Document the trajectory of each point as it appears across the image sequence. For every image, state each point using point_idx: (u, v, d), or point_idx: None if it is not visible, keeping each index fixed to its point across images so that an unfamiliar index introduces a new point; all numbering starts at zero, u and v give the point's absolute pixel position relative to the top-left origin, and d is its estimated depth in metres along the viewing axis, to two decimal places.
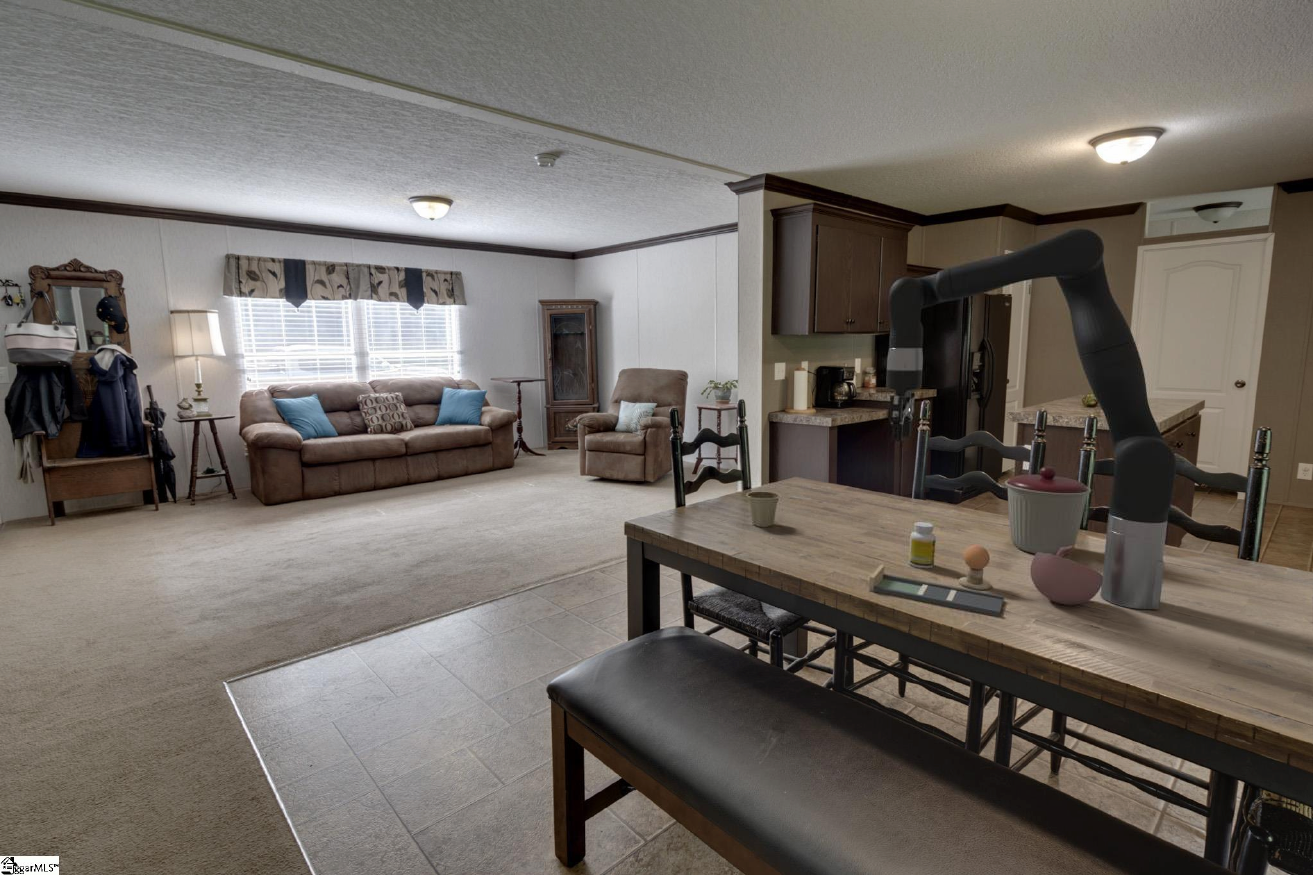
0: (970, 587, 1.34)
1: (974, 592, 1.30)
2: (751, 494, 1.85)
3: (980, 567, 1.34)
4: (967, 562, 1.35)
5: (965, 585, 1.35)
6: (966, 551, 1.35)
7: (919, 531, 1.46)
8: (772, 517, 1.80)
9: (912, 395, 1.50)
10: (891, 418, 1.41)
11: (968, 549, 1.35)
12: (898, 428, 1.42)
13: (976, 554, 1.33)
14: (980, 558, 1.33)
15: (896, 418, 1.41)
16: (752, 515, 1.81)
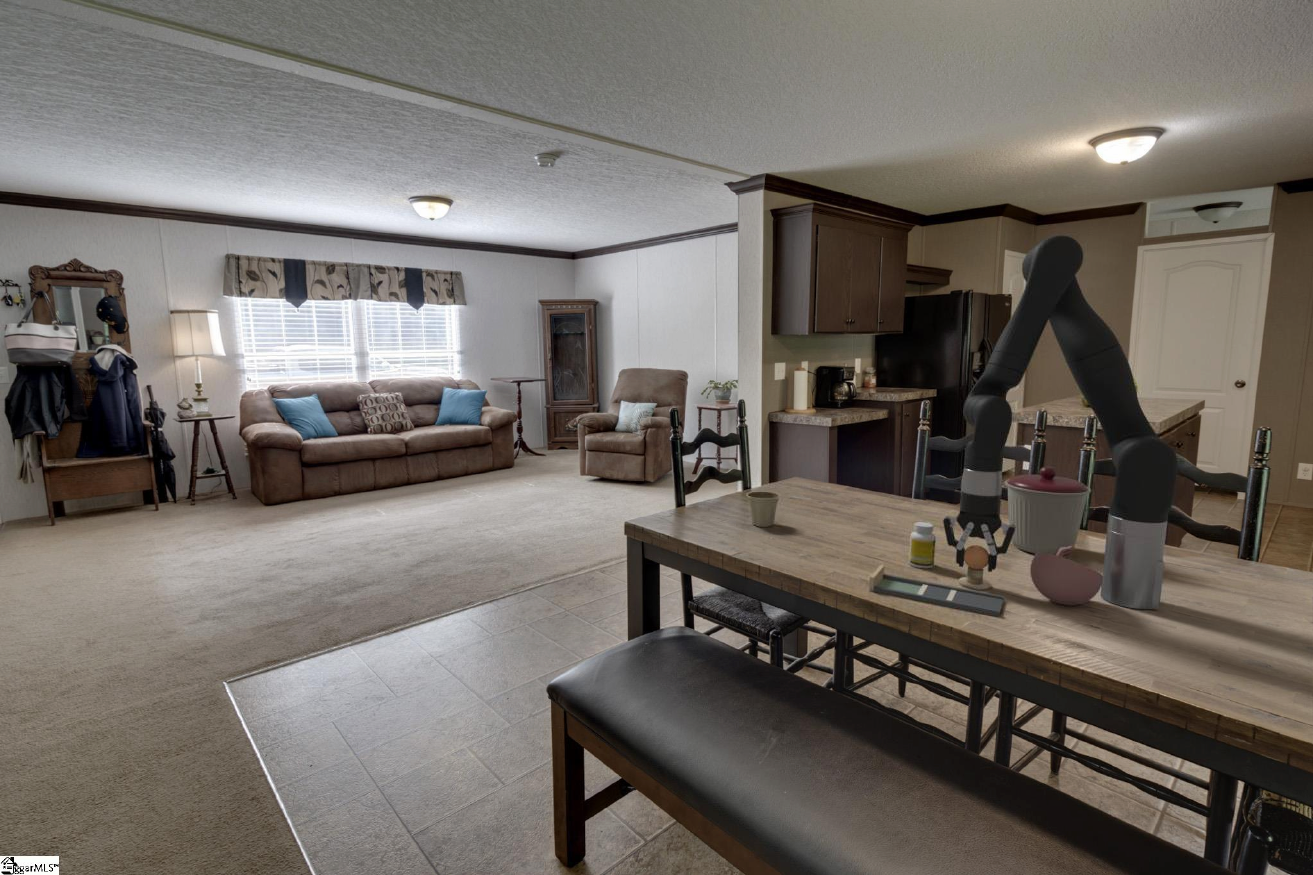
0: (970, 587, 1.34)
1: (974, 592, 1.30)
2: (751, 494, 1.85)
3: (980, 567, 1.34)
4: (967, 562, 1.35)
5: (965, 585, 1.35)
6: (966, 551, 1.35)
7: (919, 531, 1.46)
8: (772, 517, 1.80)
9: None
10: None
11: (968, 549, 1.35)
12: None
13: (976, 554, 1.33)
14: (980, 558, 1.33)
15: None
16: (752, 515, 1.81)
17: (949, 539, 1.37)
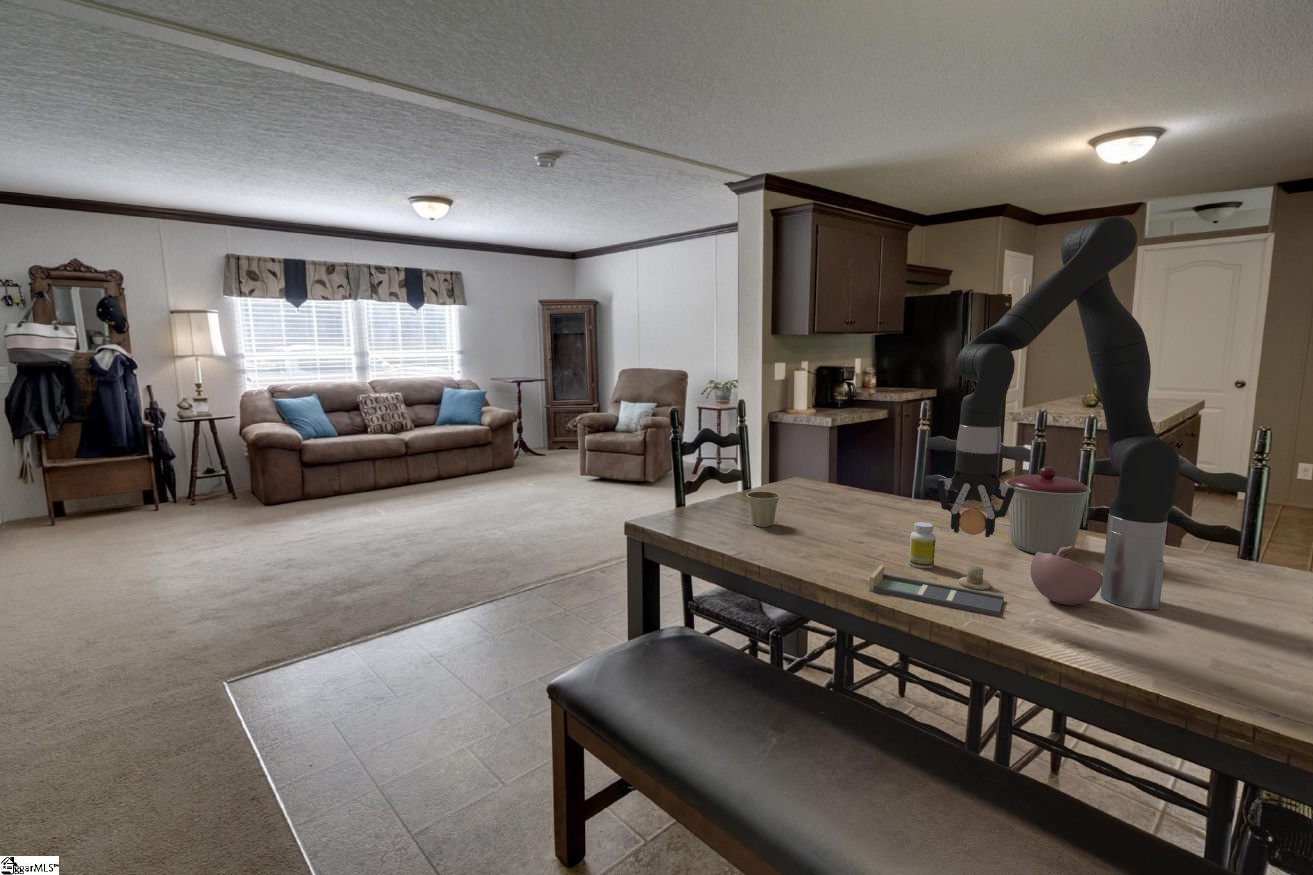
0: (970, 587, 1.34)
1: (974, 592, 1.30)
2: (751, 494, 1.85)
3: (977, 532, 1.23)
4: (963, 527, 1.24)
5: (965, 585, 1.35)
6: (962, 515, 1.25)
7: (919, 531, 1.46)
8: (772, 517, 1.80)
9: None
10: None
11: (964, 513, 1.25)
12: None
13: (973, 518, 1.23)
14: (977, 522, 1.23)
15: None
16: (752, 515, 1.81)
17: (943, 502, 1.26)
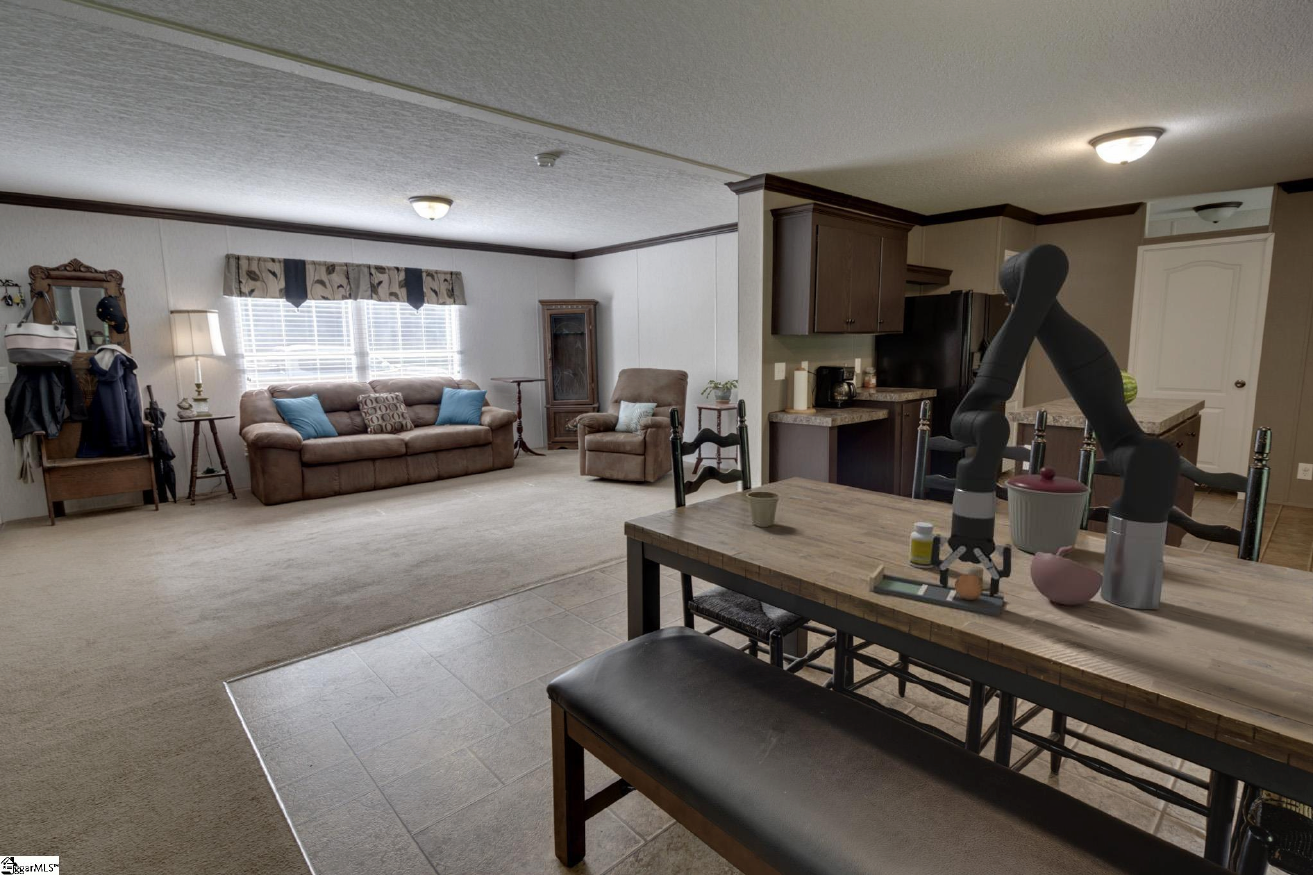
0: None
1: None
2: (751, 494, 1.85)
3: (972, 598, 1.25)
4: (959, 592, 1.26)
5: None
6: (958, 581, 1.27)
7: (919, 531, 1.46)
8: (772, 517, 1.80)
9: None
10: (1009, 573, 1.22)
11: (960, 578, 1.27)
12: None
13: (968, 584, 1.25)
14: (973, 589, 1.24)
15: (1009, 571, 1.23)
16: (752, 515, 1.81)
17: (932, 558, 1.29)
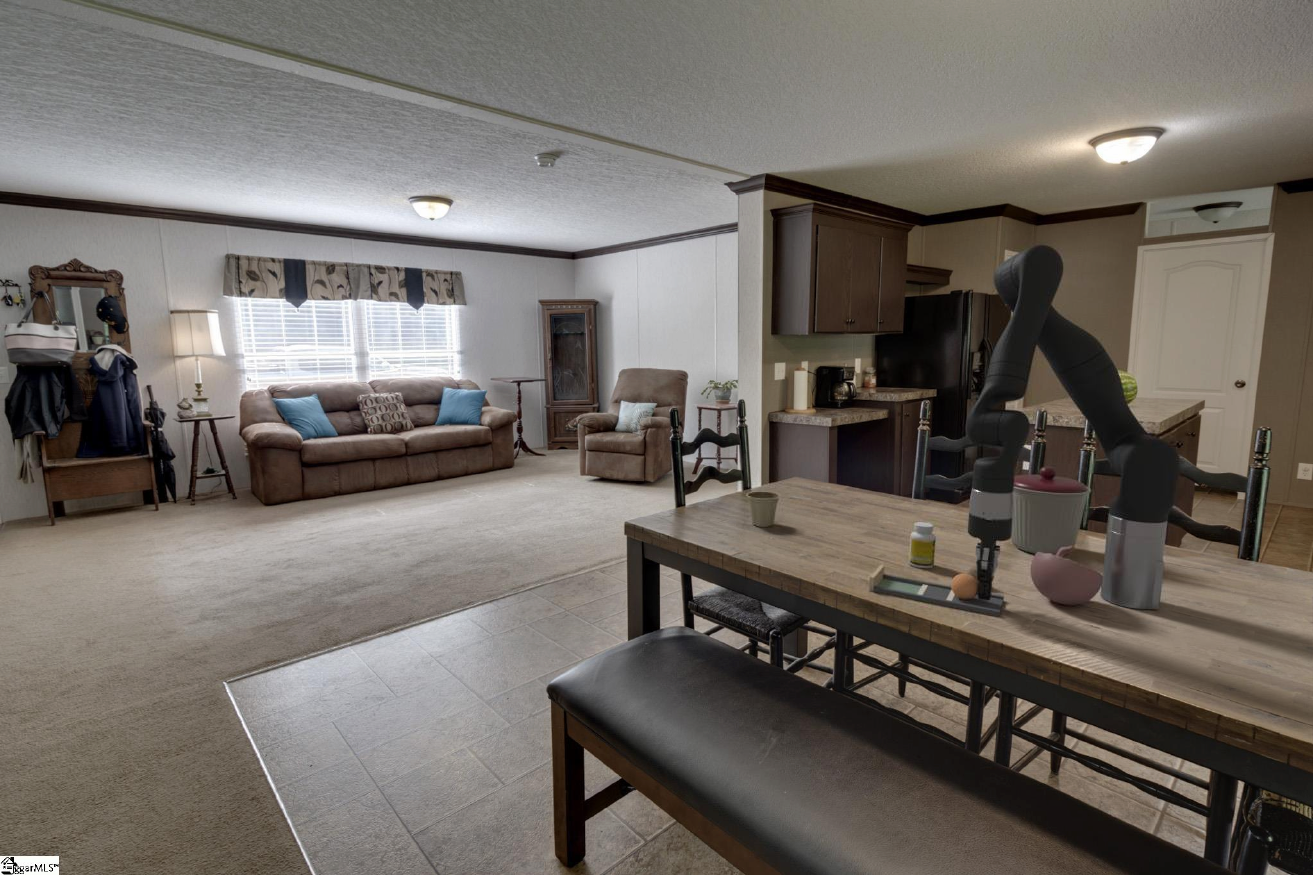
0: None
1: None
2: (751, 494, 1.85)
3: (971, 596, 1.25)
4: (956, 594, 1.26)
5: None
6: (952, 582, 1.27)
7: (919, 531, 1.46)
8: (772, 517, 1.80)
9: None
10: None
11: (954, 579, 1.27)
12: None
13: (963, 583, 1.25)
14: (968, 587, 1.25)
15: None
16: (752, 515, 1.81)
17: None
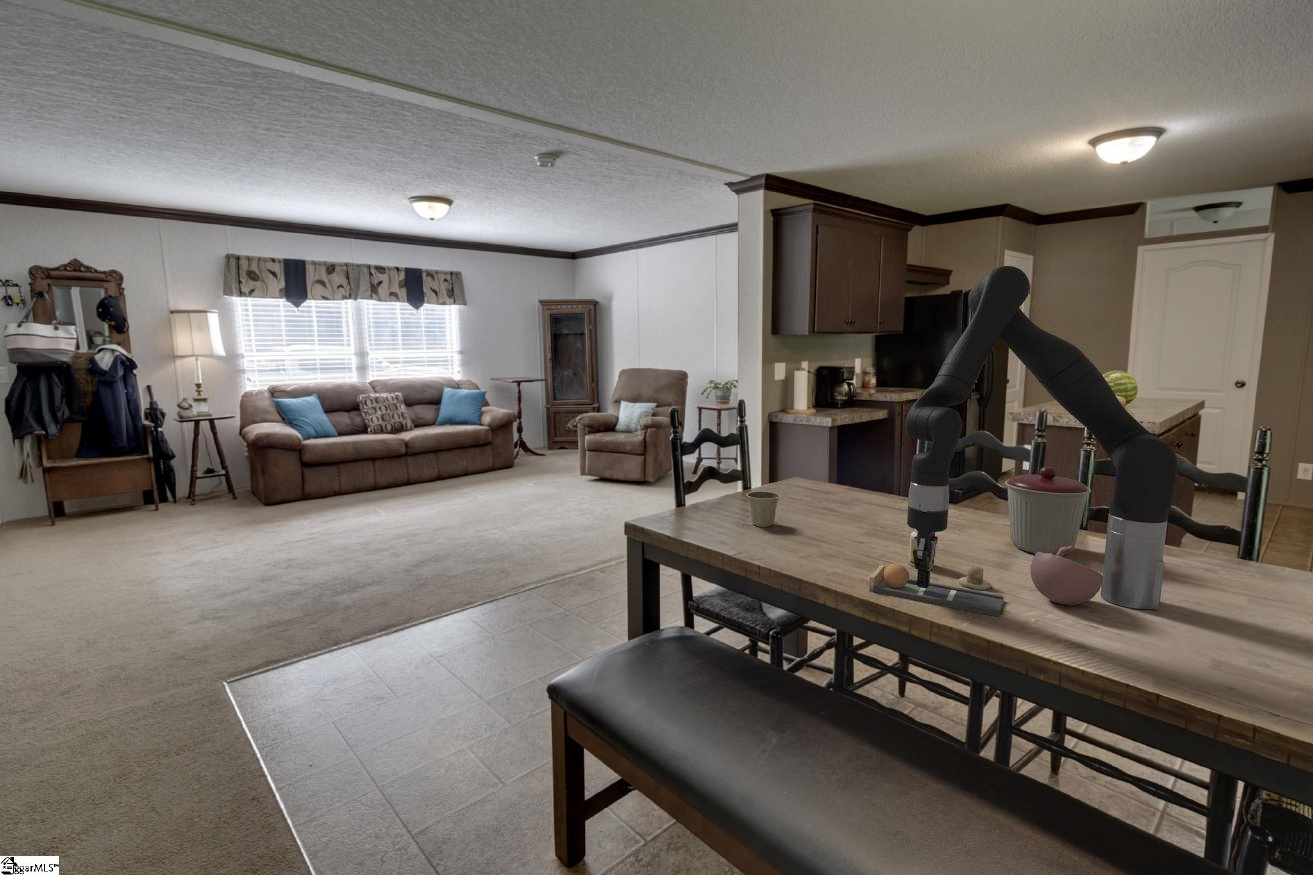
0: (970, 587, 1.34)
1: (974, 592, 1.30)
2: (751, 494, 1.85)
3: (890, 585, 1.34)
4: (886, 574, 1.34)
5: (965, 585, 1.35)
6: (894, 566, 1.33)
7: None
8: (772, 517, 1.80)
9: None
10: None
11: (897, 567, 1.33)
12: None
13: (899, 577, 1.32)
14: (898, 582, 1.32)
15: None
16: (752, 515, 1.81)
17: (928, 564, 1.28)
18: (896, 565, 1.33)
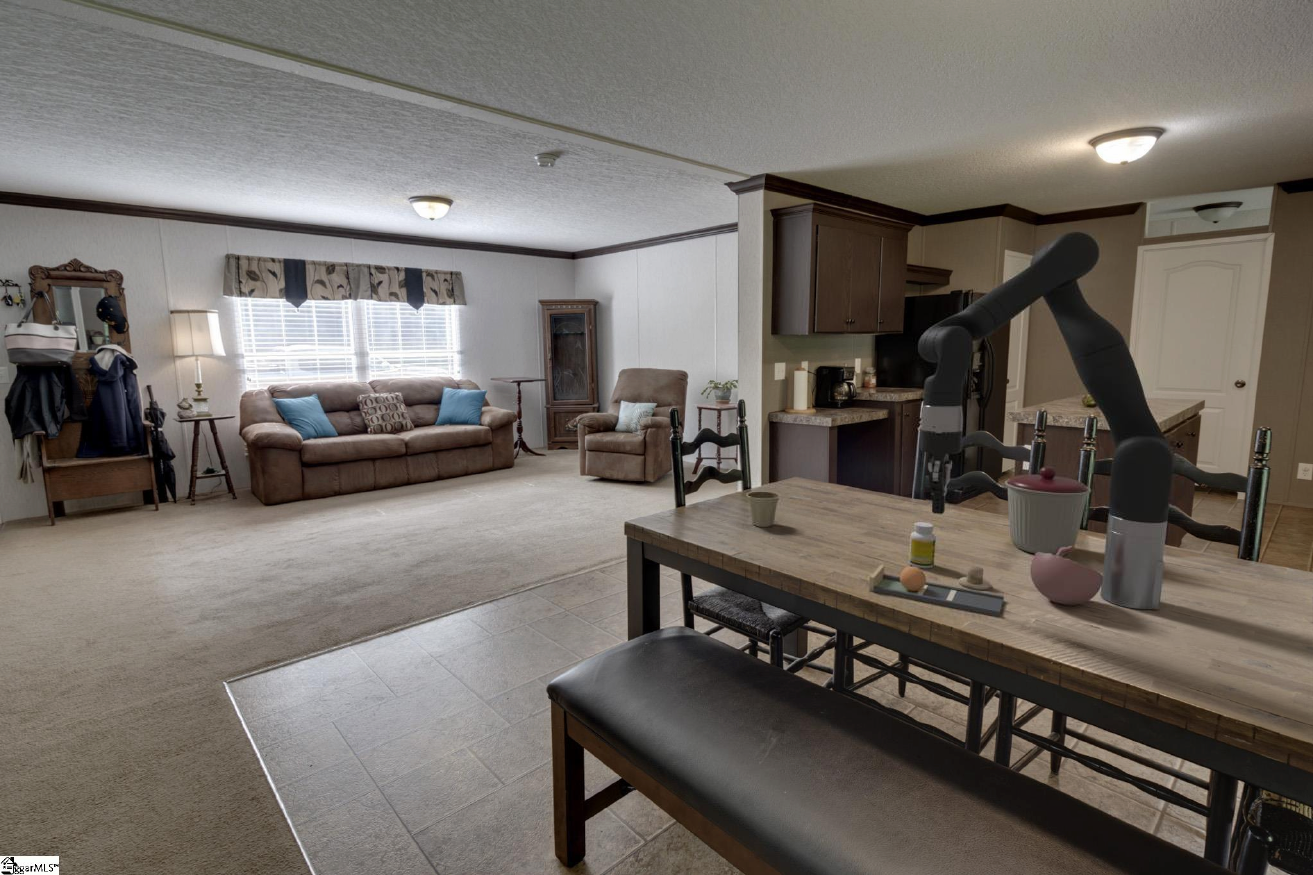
0: (970, 587, 1.34)
1: (974, 592, 1.30)
2: (751, 494, 1.85)
3: (901, 578, 1.32)
4: (912, 573, 1.31)
5: (965, 585, 1.35)
6: (922, 578, 1.30)
7: (919, 531, 1.46)
8: (772, 517, 1.80)
9: None
10: None
11: (923, 581, 1.30)
12: None
13: (914, 587, 1.30)
14: (908, 586, 1.31)
15: None
16: (752, 515, 1.81)
17: (943, 488, 1.26)
18: (924, 579, 1.31)
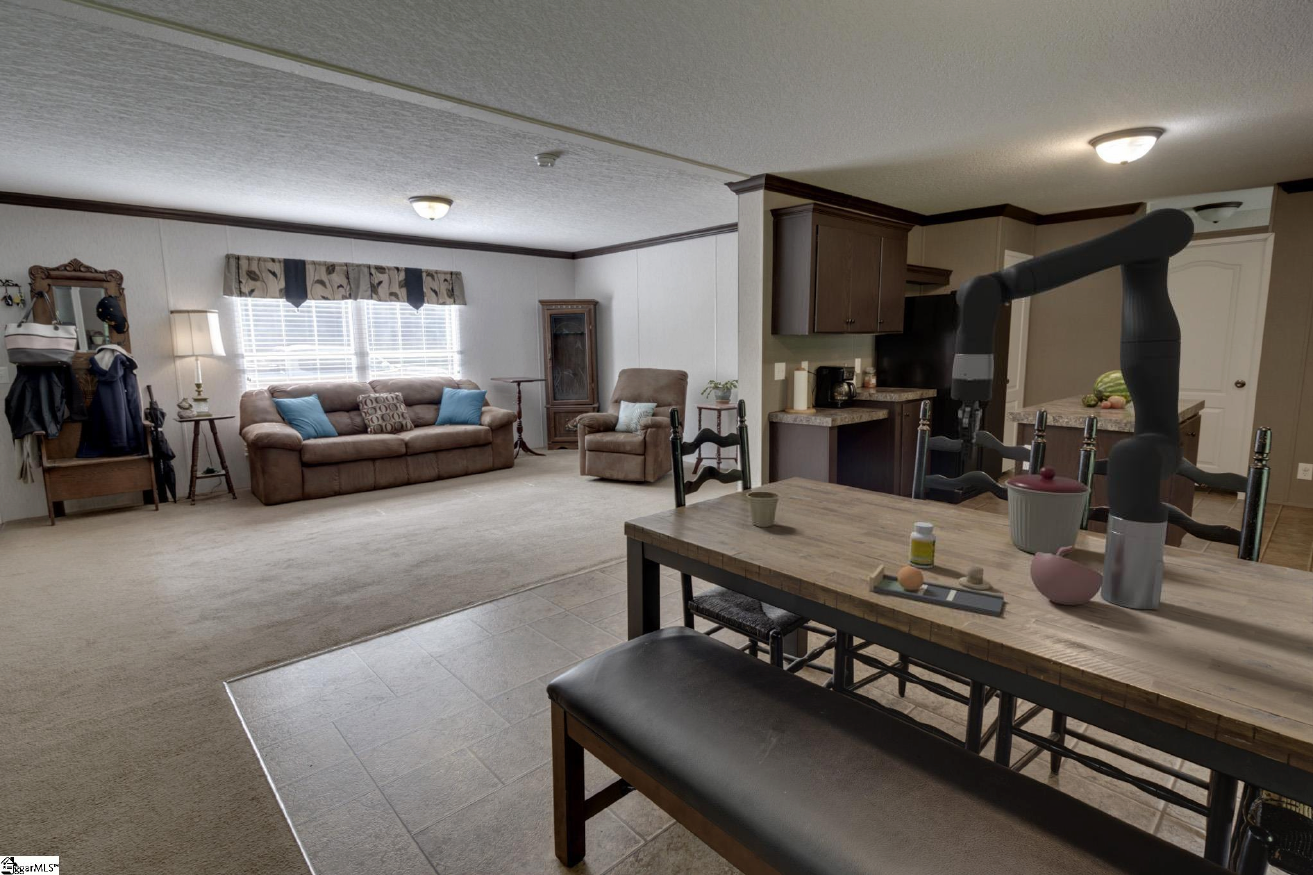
0: (970, 587, 1.34)
1: (974, 592, 1.30)
2: (751, 494, 1.85)
3: (899, 579, 1.33)
4: (907, 572, 1.31)
5: (965, 585, 1.35)
6: (919, 576, 1.31)
7: (919, 531, 1.46)
8: (772, 517, 1.80)
9: None
10: None
11: (920, 578, 1.31)
12: None
13: (913, 586, 1.30)
14: (907, 586, 1.31)
15: None
16: (752, 515, 1.81)
17: (973, 434, 1.29)
18: (921, 576, 1.31)
